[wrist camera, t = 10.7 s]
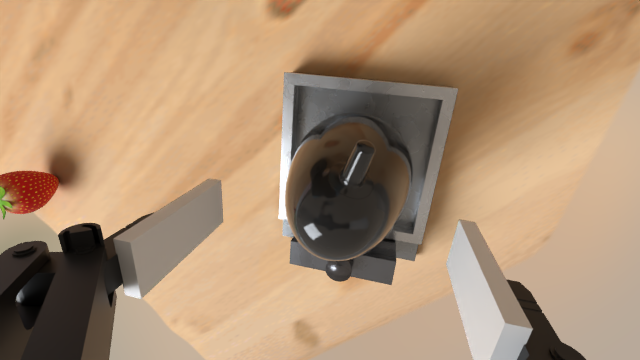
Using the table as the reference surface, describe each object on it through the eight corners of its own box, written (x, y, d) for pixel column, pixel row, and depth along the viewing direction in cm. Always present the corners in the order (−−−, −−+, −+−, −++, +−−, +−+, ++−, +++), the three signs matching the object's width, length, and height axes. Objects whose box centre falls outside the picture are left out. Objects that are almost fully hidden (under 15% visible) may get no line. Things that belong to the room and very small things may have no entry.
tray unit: (292, 72, 29) (264, 72, 23) (452, 87, 27) (472, 92, 20) (285, 231, 36) (261, 267, 29) (413, 255, 33) (419, 301, 27)
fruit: (77, 181, 41) (7, 206, 33) (65, 205, 43) (-3, 233, 35) (45, 154, 40) (-32, 173, 33) (34, 179, 42) (-41, 202, 35)
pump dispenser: (430, 130, 27) (471, 192, 13) (382, 220, 31) (375, 340, 18) (329, 88, 28) (267, 106, 14) (295, 182, 32) (221, 267, 18)
